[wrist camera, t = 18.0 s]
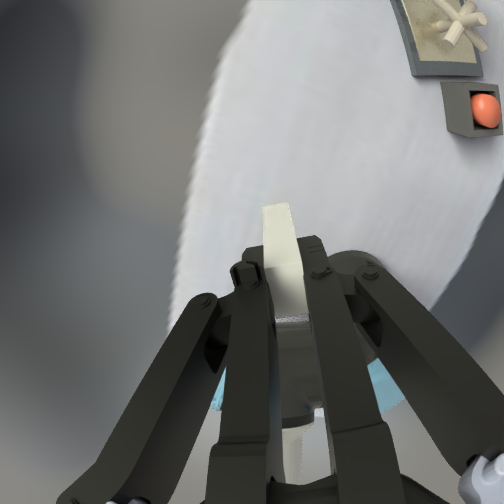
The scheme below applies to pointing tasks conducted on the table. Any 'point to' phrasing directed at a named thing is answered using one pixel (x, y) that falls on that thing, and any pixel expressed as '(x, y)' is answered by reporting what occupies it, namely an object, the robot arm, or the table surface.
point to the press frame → (433, 40)
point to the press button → (485, 110)
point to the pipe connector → (461, 23)
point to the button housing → (467, 108)
